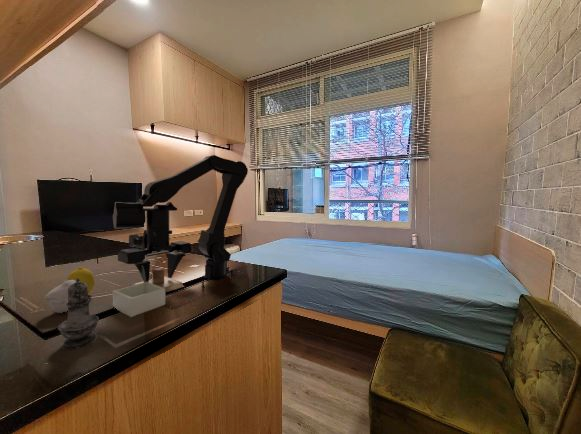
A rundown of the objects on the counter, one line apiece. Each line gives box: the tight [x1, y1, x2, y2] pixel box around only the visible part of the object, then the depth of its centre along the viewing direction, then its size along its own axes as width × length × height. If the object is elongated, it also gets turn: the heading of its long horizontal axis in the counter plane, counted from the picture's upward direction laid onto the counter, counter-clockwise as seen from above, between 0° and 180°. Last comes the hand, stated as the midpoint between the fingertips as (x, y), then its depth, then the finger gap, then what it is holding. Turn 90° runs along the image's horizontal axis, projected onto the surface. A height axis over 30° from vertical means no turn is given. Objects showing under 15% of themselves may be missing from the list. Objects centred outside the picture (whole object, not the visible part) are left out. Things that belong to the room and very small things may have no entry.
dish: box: [112, 282, 166, 318], centre depth 62 cm, size 8×8×4 cm
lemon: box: [66, 266, 96, 294], centre depth 66 cm, size 6×6×8 cm
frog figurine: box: [44, 279, 76, 314], centre depth 59 cm, size 6×7×7 cm
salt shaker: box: [57, 278, 100, 350], centre depth 47 cm, size 6×6×12 cm
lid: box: [133, 267, 183, 293], centre depth 74 cm, size 9×9×5 cm
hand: (158, 280), depth 74 cm, fingers open, 7 cm apart
